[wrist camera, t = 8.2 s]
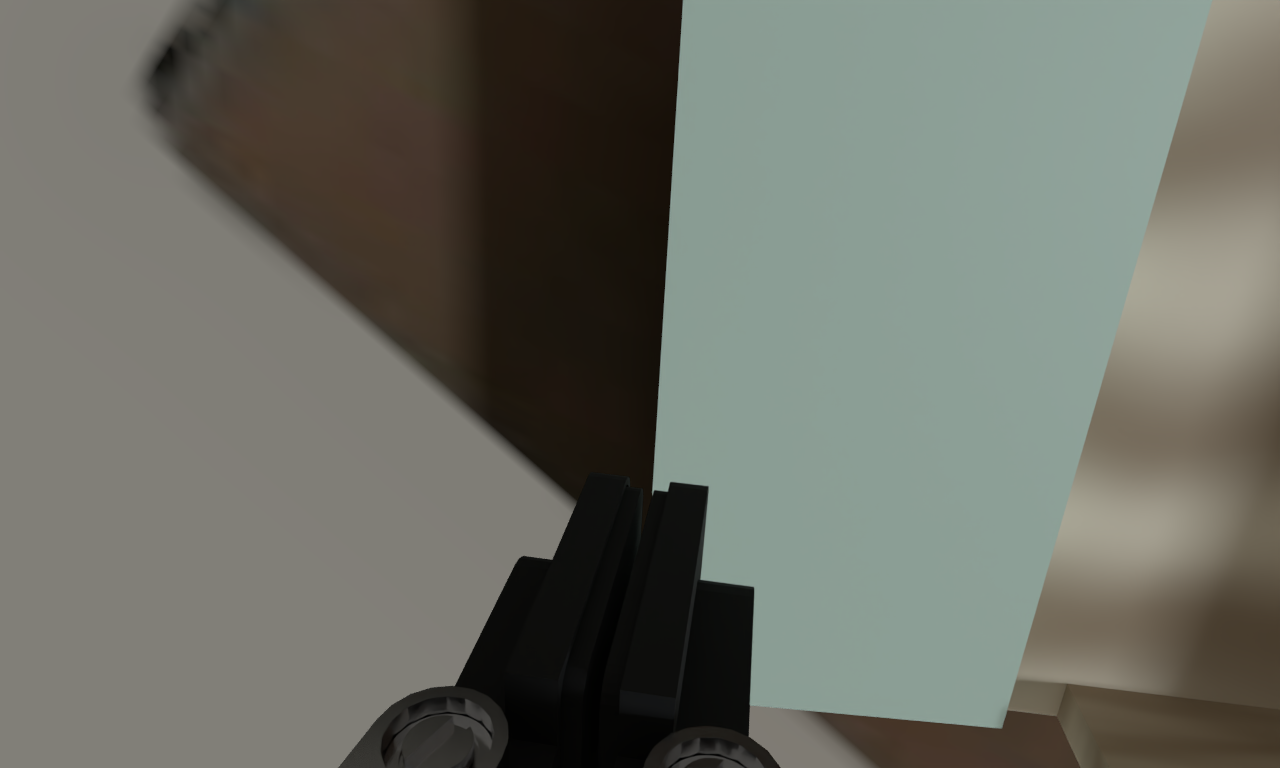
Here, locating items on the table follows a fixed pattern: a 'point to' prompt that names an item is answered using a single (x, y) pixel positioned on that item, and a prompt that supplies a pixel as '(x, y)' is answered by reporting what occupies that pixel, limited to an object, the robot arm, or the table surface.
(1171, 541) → the tray
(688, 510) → the robot arm
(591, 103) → the table surface
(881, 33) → the panel
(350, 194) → the table surface
